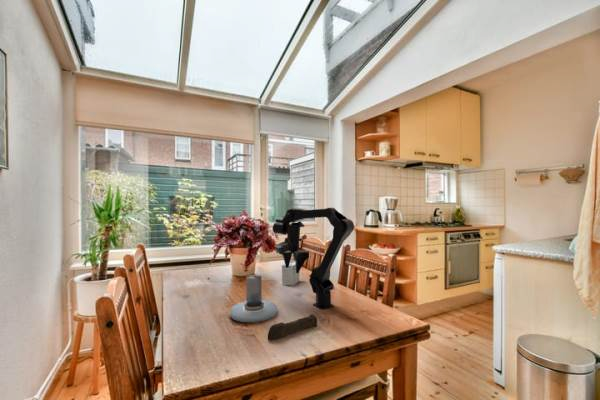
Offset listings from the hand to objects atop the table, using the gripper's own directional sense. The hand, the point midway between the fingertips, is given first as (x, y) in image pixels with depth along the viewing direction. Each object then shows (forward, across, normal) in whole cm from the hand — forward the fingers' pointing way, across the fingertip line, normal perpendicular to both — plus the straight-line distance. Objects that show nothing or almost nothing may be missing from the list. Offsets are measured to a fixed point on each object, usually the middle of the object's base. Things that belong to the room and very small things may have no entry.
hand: (292, 270), depth 129 cm
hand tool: (+12, +30, -16) cm, 36 cm away
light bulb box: (+14, -22, +13) cm, 29 cm away
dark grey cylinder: (+10, +7, -21) cm, 25 cm away
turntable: (+13, +7, -21) cm, 26 cm away
